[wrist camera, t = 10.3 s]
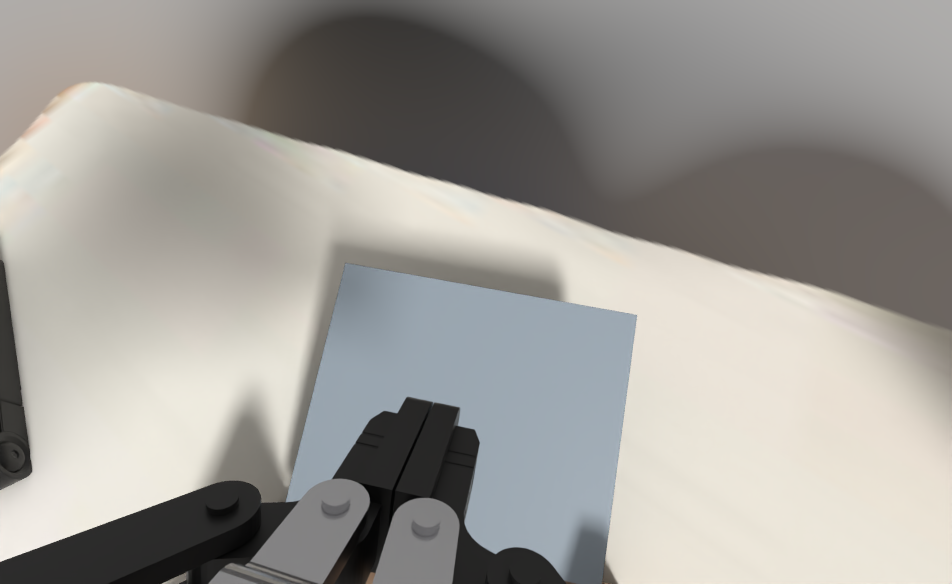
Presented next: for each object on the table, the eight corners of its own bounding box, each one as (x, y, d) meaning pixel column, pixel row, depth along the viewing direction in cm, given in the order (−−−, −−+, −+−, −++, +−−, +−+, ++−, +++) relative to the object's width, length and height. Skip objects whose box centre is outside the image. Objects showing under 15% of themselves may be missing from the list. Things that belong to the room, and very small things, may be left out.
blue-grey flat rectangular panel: (601, 589, 23) (637, 315, 26) (282, 515, 25) (345, 262, 27) (593, 573, 25) (627, 319, 28) (298, 505, 27) (355, 271, 29)
